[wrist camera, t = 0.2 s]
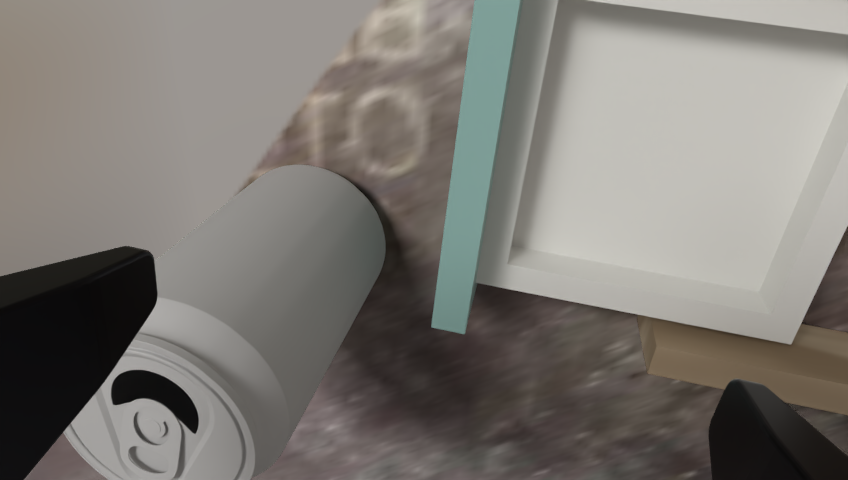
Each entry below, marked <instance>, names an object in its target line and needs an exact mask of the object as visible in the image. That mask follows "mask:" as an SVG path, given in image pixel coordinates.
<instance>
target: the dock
mask: <svg viewBox="0 0 848 480" xmlns="http://www.w3.org/2000/svg"><path fill="white" fill-rule="evenodd" d="M637 322H638V327H639V332H640V338H641V343H642V348H643V354H644V359H645V364H646V370H647V374H652V375H657V376H661V377H666V378H671V379H676V380H681V381H685V382H690V383H695V384H700V385H705V386H709V387H714V388H719V389H724V390H725V388H726V386H727V384H728V383H729V382H730V381H731V380H733V379H735V378H736V379H742V380H747V381H752V382H756V383H761V384H763V385H765V386H766V387H767V388H769V389H770V390H771V391H772V392H773V393H774V394H776V395H777V396H778V397H779V398H780V399H781V400H783V401H784V402H786V403H791V404H796V405H801V406H805V407H810V408H815V409H820V410H824V411H829V412H834V413H839V414H844V415H848V333H847V332H842V331H837V330H831V329H826V328H821V327H816V326H810V325H805V324H801V325H800V327H799V329H798V331H797V333H796V335H795V337H794V340H793V342H792V344H785V343H780V342H775V341H770V340H765V339H760V338H755V337H750V336H745V335H740V334H734V333H729V332H724V331H719V330H714V329H709V328H704V327H699V326H694V325H689V324H684V323H678V322H673V321H668V320H663V319H658V318H653V317H648V316H643V315H638V317H637Z"/></svg>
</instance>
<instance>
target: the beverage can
mask: <svg viewBox="0 0 848 480" xmlns="http://www.w3.org/2000/svg"><path fill="white" fill-rule="evenodd" d="M385 251H386V244H385V235H384V231H383V227H382V224H381V221H380V219H379V216H378V214H377V212H376V210H375V209H374V207H373V206H372V204H371V203H370V201H369V200H368V199H367V198H366V197H365V195H364V194H363V193H362V192H361V191H360V190H358V189H357V188H356V187H355V186H354V185H353V184H352V183H351V182H349V181H348V180H346V179H345V178H343V177H341V176H340V175H338V174H336V173H334V172H331V171H329V170H326V169H323V168H320V167H315V166H310V165H288V166H283V167H279V168H276V169H273V170H271V171H269V172H267V173H265V174H263V175H262V176H260V177H259V178H258V179H256V180H255V181H254V182H253V183H251V184H250V185H249V186H248V187H246V188H245V189H244V190H243V191H241V192H240V193H239V194H238V195H236V196H235V197H234V198H233V199H231V200H230V201H229V202H228V203H226V204H225V205H224V206H223V207H221V208H220V209H219V210H218V211H216V212H215V213H214V214H213V215H211V216H210V217H209V218H208V219H206V220H205V221H204V222H203V223H201V224H200V225H199V226H198V227H196V228H195V229H194V230H193V231H191V232H190V233H189V234H188V235H187V236H185V237H184V238H183V239H182V240H180V241H179V242H178V243H177V244H175V245H174V246H173V247H171V248H170V249H169V250H168V251H167V252H165V253H164V254H163V255H161V256H160V257H159V258H158V259H156V260H155V261H154V262H155V272H156V282H157V292H158V296H157V302H156V305H155V307H154V309H153V311H152V312H151V314H150V315H149V317H148V318H147V320H146V321H145V323H144V324H143V326H142V327H141V329H140V330H139V332H138V333H137V335H136V336H135V338H134V339H133V341H132V342H131V344H130V345H129V347H128V348H127V350H126V351H125V353H124V354H123V356H122V357H121V359H120V360H119V362H118V363H117V365H116V366H115V368H114V369H113V371H112V372H111V373H110V375H109V376H108V378H107V379H106V380H105V382H104V383H103V384H102V386H101V387H100V388H99V390H98V391H97V392H96V393H95V395H94V396H93V397H92V398H91V399H90V401H89V402H88V403H87V404H86V405H85V407H84V408H83V409H82V410H81V411H80V413H79V414H78V415H77V416H76V418H75V419H74V420H73V421H72V422H71V424H70V425H69V426H68V427H67V428H66V430H65V431H64V434H65V436H66V437H67V439H68V440H69V442H70V443H71V444H72V446H73V447H74V448H75V450H76V451H77V452H78V453H79V454H80V455H81V456H82V457H83V458H84V459H85V460H86V461H87V462H88V463H89V464H90V465H91V466H92V467H93V468H94V469H95V470H96V471H98V472H99V473H100V474H101V475H103V476H104V477H105V478H107V479H108V480H251V479H252V478H253V477H255V476H257V475H259V474H261V473H262V472H264V471H266V470H267V469H268V468H269V467H271V466H272V465H273V464H274V463H275V462H276V461H277V459H278V458H279V457H280V455H281V454H282V452H283V450H284V448H285V447H286V445H287V443H288V441H289V439H290V437H291V436H292V434H293V432H294V430H295V428H296V426H297V425H298V423H299V421H300V419H301V417H302V415H303V414H304V412H305V410H306V408H307V406H308V404H309V403H310V401H311V399H312V397H313V395H314V393H315V392H316V390H317V388H318V386H319V384H320V382H321V381H322V379H323V377H324V375H325V373H326V371H327V370H328V368H329V366H330V364H331V362H332V360H333V359H334V357H335V355H336V353H337V351H338V349H339V347H340V346H341V344H342V342H343V340H344V338H345V336H346V335H347V333H348V331H349V329H350V327H351V325H352V324H353V322H354V320H355V318H356V316H357V314H358V313H359V311H360V309H361V307H362V305H363V303H364V302H365V300H366V298H367V296H368V294H369V292H370V291H371V289H372V287H373V285H374V283H375V281H376V280H377V278H378V276H379V274H380V272H381V269H382V267H383V263H384V259H385Z"/></svg>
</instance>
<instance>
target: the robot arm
mask: <svg viewBox="0 0 848 480" xmlns="http://www.w3.org/2000/svg"><path fill="white" fill-rule="evenodd" d="M157 296H158V292H157V282H156V272H155V262H154V257H153V255H152V254H151V253H150V252H149V251H147V250H143V249H139V248H134V247H130V246H123V247H119V248H114V249H111V250H107V251H102V252H98V253H94V254H90V255H86V256H82V257H78V258H73V259H70V260H65V261H61V262H57V263H53V264H49V265H45V266H41V267H37V268H33V269H28V270H24V271H20V272H16V273H12V274H8V275H4V276H0V480H24V479H25V478H26V477H27V475H28V474H29V473H30V472H31V470H32V469H33V468H34V467H35V466H36V464H37V463H38V462H39V461H40V460H41V458H42V457H43V456H44V455H45V454H46V452H47V451H48V450H49V449H50V448H51V446H52V445H53V444H54V443H55V442H56V440H57V439H58V438H59V437H60V436H61V434H62V433H63V432H64V431H65V430H66V428H67V427H68V426H69V425H70V424H71V422H72V421H73V420H74V419H75V418H76V416H77V415H78V414H79V413H80V411H81V410H82V409H83V408H84V407H85V405H86V404H87V403H88V402H89V401H90V399H91V398H92V397H93V396H94V395H95V393H96V392H97V391H98V390H99V388H100V387H101V386H102V384H103V383H104V382H105V380H106V379H107V378H108V376H109V375H110V373H111V372H112V371H113V369H114V368H115V366H116V365H117V363H118V362H119V360H120V359H121V357H122V356H123V354H124V353H125V351H126V350H127V348H128V347H129V345H130V344H131V342H132V341H133V339H134V338H135V336H136V335H137V333H138V332H139V330H140V329H141V327H142V326H143V324H144V323H145V321H146V320H147V318H148V317H149V315H150V314H151V312H152V311H153V309H154V307H155V305H156V302H157ZM709 447H710V458H711V470H712V480H848V456H847V455H846V454H844V453H843V452H842V451H841V450H840V449H839V448H837V447H836V446H835V445H834V444H833V443H832V442H830V441H829V440H828V439H827V438H826V437H825V436H823V435H822V434H821V433H820V432H819V431H818V430H816V429H815V428H814V427H813V426H812V425H811V424H809V423H808V422H807V421H806V420H805V419H804V418H802V417H801V416H800V415H799V414H798V413H797V412H795V411H794V410H793V409H792V408H791V407H790V406H788V405H787V404H786V403H785V402H784V401H783V400H781V399H780V398H779V397H778V396H777V395H776V394H774V393H773V392H772V391H771V390H770V389H769V388H767V387H766V386H765V385H763V384H761V383H756V382H752V381H747V380H742V379H736V378H735V379H733V380H731V381H730V382H729V383H728V384H727V386H726V388H725V390H724V393H723V395H722V397H721V399H720V401H719V404H718V406H717V408H716V410H715V413H714V415H713V417H712V419H711V422H710V426H709Z"/></svg>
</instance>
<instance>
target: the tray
mask: <svg viewBox="0 0 848 480" xmlns="http://www.w3.org/2000/svg"><path fill="white" fill-rule="evenodd" d="M847 226H848V0H475V2H474V9H473V17H472V24H471V32H470V39H469V47H468V54H467V62H466V69H465V77H464V84H463V92H462V99H461V107H460V114H459V122H458V129H457V137H456V144H455V152H454V159H453V167H452V174H451V182H450V189H449V197H448V204H447V212H446V219H445V227H444V234H443V242H442V249H441V257H440V264H439V272H438V279H437V287H436V294H435V302H434V309H433V317H432V324H431V327H432V328H437V329H442V330H446V331H451V332H456V333H461V334H465V331H466V327H467V323H468V319H469V315H470V311H471V307H472V303H473V299H474V295H475V291H476V287H477V284H478V283H480V284H485V285H490V286H495V287H500V288H505V289H510V290H515V291H520V292H526V293H531V294H536V295H541V296H546V297H551V298H556V299H561V300H566V301H571V302H577V303H582V304H587V305H592V306H597V307H602V308H607V309H612V310H617V311H622V312H627V313H633V314H638V315H643V316H648V317H653V318H658V319H663V320H668V321H673V322H678V323H684V324H689V325H694V326H699V327H704V328H709V329H714V330H719V331H724V332H729V333H734V334H740V335H745V336H750V337H755V338H760V339H765V340H770V341H775V342H780V343H785V344H792V342H793V340H794V337H795V335H796V333H797V331H798V329H799V327H800V325H801V323H802V321H803V319H804V316H805V314H806V312H807V310H808V308H809V306H810V304H811V302H812V300H813V297H814V295H815V293H816V291H817V289H818V287H819V285H820V283H821V281H822V278H823V276H824V274H825V272H826V270H827V268H828V266H829V264H830V262H831V260H832V257H833V255H834V253H835V251H836V249H837V247H838V245H839V243H840V241H841V238H842V236H843V234H844V232H845V230H846V228H847Z"/></svg>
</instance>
